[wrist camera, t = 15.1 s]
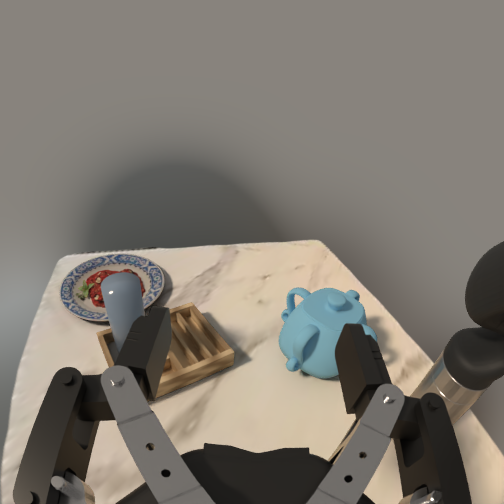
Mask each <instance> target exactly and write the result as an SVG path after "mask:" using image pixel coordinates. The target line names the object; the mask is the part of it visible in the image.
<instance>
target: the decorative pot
mask: <svg viewBox="0 0 504 504" xmlns="http://www.w3.org/2000/svg"><path fill="white" fill-rule="evenodd" d="M295 294H297V295H300V296H301V297H302V298H304V300H303V301H302V302H301V303H300V304H299V305H298V306H297V307H296V308H295V302H294V295H295ZM359 298H360V295H359V294H358V293H357V292H356V291H354V290H349V291H348V292H347V293H346V294H345V293H344V292H341V291H339V290H337V289H334V288H324V289H320V290H318V291H315V292H313V293H312V294H311V293H310V292H308V291H307V290H306V289H303V288H294V289H292V290H291V291H290V292H289V293H288V295H287V309H286V310H284V311H283V312H282V315H281V317H282V319H283V321H284V322H285V323H284V325H283V328H282V330H281V332H280V336H279V346H280V349H281V351H282V352H283V354H284V355H285V356H286V357H287V358H288V360H289V361H288V362H287V363H286V367H287V369H288V370H289V371H292V372H294V371H297V370H298V369H301V370H302V371H304V372H306V373H307V374H309V375H311V376H314V377H317V378H331V377H334V376H337V375H339V374H338V369H337V365H336V360H335V347H336V344H337V341H338V339H339V337H340V334H341V332H342V329H343V326H344V325H345V324H346V323H354V324H362V326H363V328H364V331H365V334H366V335H371V336H372V337H373V338H374V339H375V341H376V342H377V336H376V334H375V332H374V331H373V329H372V328H370V327H369V326H367V322H366V315H365V310H364V307H363V305H362V304H361V303H360V302H358V301H359Z"/></svg>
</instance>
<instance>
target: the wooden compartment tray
mask: <svg viewBox="0 0 504 504" xmlns="http://www.w3.org/2000/svg"><path fill="white" fill-rule="evenodd" d="M170 318H171V328H172V340H171V345H170V348H169V352H168V355H167V359H166V362H165V366H164V369H163V373H162V376H161V380H160V383H159V387H158V390H157V394H156V398H157V397H160V396H162V395H165V394H167V393H170V392H172V391H175V390H177V389H180V388H182V387H184V386H187V385H189V384H192V383H194V382H196V381H198V380H201V379H203V378H205V377H208V376H210V375H212V374H214V373H216V372H219V371H221V370H223V369H225V368H227V367H229V366H232V365H233V362H234V351H233V350H232V349H231V348H230V346H229V345H228V344H227V343H226V342H225V341H224V340H223V338H222V337H221V336H220V335H219V334H218V333H217V331H216V330H215V329H214V328H213V327H212V326H211V324H210V323H209V322H208V321H207V320H206V319H205V317H204V316H203V315H202V314H201V313H200V311H199V310H198V309H197V308H196V307H195V305H194V304H193V303H192V302H191V303H188V304H185V305H182V306H179V307H176V308H173V309H170ZM97 336H98V339H99V342H100V345H101V348H102V351H103V353H104V356H105V358H106V361H107V363H108V366H109V367H112V366H114V364H115V362H116V360H117V357H118V355H119V354H118V351H117V348H116V344H115V341H114V338H113V334H112V330H111V328H110V329H107V330H104V331H101V332H97ZM147 401H150V400H147Z"/></svg>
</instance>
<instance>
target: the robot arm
mask: <svg viewBox="0 0 504 504" xmlns="http://www.w3.org/2000/svg"><path fill="white" fill-rule="evenodd" d="M465 304H466V309H467V312H468V314H469V316H470V318H471V319H472V320H473V321H474V322H475V323H477V324H478V325H480V326H481V327H480V328H467V329H463V330H460V331H458V332H457V333H455V335H453V337H452V338H451V339H450V341H449V342H448V344H447V346H446V347H445V349H444V350H443V352H442V353H441V355H440V356H439V358H438V360H437V361H436V362H435V364H434V365H433V366H432V368H431V369H430V371H429V372H428V373H427V375H426V376H425V378H424V379H423V380H422V382H421V383H420V384H419V386H418V387H417V388H416V389H415V391H414V392H413V393H412V394H411V396H410V397H409V396H405V395H404V394H403V392H402V391H401V390H400V389H399V388H398V387H397V386H395V385H392V383H391V380H390V377H389V374H388V371H387V368H386V365H385V363H384V360H383V357H382V354H381V353H380V349H379V346H378V344H377V342H376V341H375V339H374V338H373V337H372V336H371V335H366V334H365V331H364V328H363V326H362V324H354V323H346V324H345V325H344V326H343V329H342V332H341V334H340V337H339V339H338V341H337V344H336V347H335V360H336V365H337V369H338V374H339V378H340V383H341V387H342V392H343V397H344V402H345V407H346V412H347V414H355V415H356V419H355V421H354V422H353V424H352V425H351V427H350V429H349V430H348V432H347V433H346V435H345V437H344V438H343V440H342V441H341V443H340V444H339V446H338V447H337V449H336V450H335V452H334V453H333V454H332V455H331V457H330V458H329V459H328V461H327V460H325V459H324V458H321V457H319V456H316V455H313V454H310V453H309V448H282V449H278V450H273V451H268V452H263V453H254V452H250V451H246V450H243V449H239V448H236V447H233V446H228V445H217V444H208V443H204V449H198V450H193V451H190V452H187V453H185V454H182V455H179V453H178V452H177V450H176V448H175V447H174V445H173V444H172V442H171V440H170V439H169V437H168V435H167V434H166V432H165V430H164V429H163V427H162V425H161V423H160V422H159V420H158V418H157V416H156V415H155V413H154V412H153V411H152V410H151V408H150V407H149V405H148V403H147V400H152V401H155V398H156V394H157V390H158V387H159V383H160V380H161V376H162V373H163V369H164V366H165V362H166V359H167V355H168V352H169V348H170V345H171V340H172V328H171V318H170V310H169V308H166V307H158V306H152V308H151V310H150V312H149V315H148V316H142V315H141V316H140V317H138V318H137V319H136V320H135V321H134V322H133V324H132V326H131V328H130V330H129V332H128V335H127V337H126V339H125V341H124V344H123V346H122V348H121V350H120V353H119V355H118V357H117V360H116V362H115V364H114V366H112V367H109V368H108V369H106V370H105V371H104V372H103V374H100V375H81V373H80V372H79V371H78V370H77V369H75V368H73V367H65V368H62V369H60V370H59V371H57V372H56V374H55V375H54V377H53V379H52V381H51V384H50V386H49V388H48V391H47V393H46V395H45V398H44V400H43V403H42V405H41V407H40V410H39V413H38V415H37V418H36V420H35V423H34V426H33V428H32V431H31V434H30V437H29V440H28V443H27V445H26V448H25V452H24V455H23V458H22V461H21V464H20V468H19V471H18V475H17V478H16V482H15V486H14V490H13V499H14V502H15V504H95V496H94V492H93V490H92V489H91V488H90V486H89V485H87V484H86V483H85V479H86V474H87V470H88V465H89V461H90V457H91V453H92V448H93V445H94V441H95V437H96V433H97V429H98V426H99V422H100V421H106V420H116V421H117V425H118V428H119V430H120V432H121V435H122V437H123V439H124V441H125V443H126V445H127V447H128V449H129V451H130V453H131V455H132V457H133V459H134V461H135V463H136V465H137V467H138V469H139V470H140V472H141V474H142V476H143V478H144V479H145V481H146V482H145V483H143V484H142V485H141V486H139V487H138V488H137V489H135V490H134V491H133V492H131V493H130V494H128V495H127V496H126V497H124V498H123V499H121V500H120V501H118V502H117V503H116V504H375V503H374V502H373V501H372V500H371V499H369V498H368V497H367V496H366V495H365V494H364V493H363V492H364V490H365V488H366V487H367V485H368V483H369V482H370V480H371V478H372V476H373V475H374V473H375V471H376V469H377V467H378V465H379V463H380V461H381V460H382V458H383V456H384V454H385V452H386V450H387V448H388V446H389V443H390V441H391V438H393V440H394V443H395V449H396V454H397V460H398V466H399V472H400V478H401V485H402V492H403V499H402V500H401V501H400V502H399V504H472V502H471V496H470V491H469V487H468V482H467V478H466V473H465V469H464V465H463V461H462V457H461V454H460V450H459V446H458V443H457V439H456V436H455V433H454V429H453V426H452V425H453V424H454V423H455V422H456V421H457V420H458V419H459V418H460V417H461V416H462V415H463V414H464V413H465V412H466V411H467V410H468V409H469V408H470V407H471V406H472V405H473V404H474V403H475V402H476V401H477V400H478V398H479V397H480V396H481V395H482V394H483V393H484V392H485V391H486V389H487V388H488V387H489V386H490V385H491V384H492V382H493V381H495V380H497V379H498V378H500V377H502V376H503V375H504V242H501V243H500V244H498V245H496V246H494V247H493V248H491V249H490V250H489V251H488V252H487V253H486V254H484V255H483V257H482V258H481V259H480V260H479V261H478V263H477V264H476V266H475V268H474V269H473V271H472V273H471V275H470V278H469V281H468V283H467V287H466V294H465Z"/></svg>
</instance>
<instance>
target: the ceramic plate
mask: <svg viewBox="0 0 504 504" xmlns="http://www.w3.org/2000/svg"><path fill="white" fill-rule="evenodd" d="M121 272H127V273H132V274H134V275H136V276H137V277H138V278H139V279H140V285H141V292H142V299H143V305H144V309H146V308H147V307H149V306H150V305H151V304H152V303H153V302H155V300H156V299H157V298H158V297H159V296H160V294H161V292H162V290H163V288H164V282H165V279H164V274H163V272H162V270H161V269H160V267H159V266H158V265H157V264H155V263H154V262H153V261H151V260H149V259H147V258H144V257H141V256H137V255H132V254H110V255H104V256H100V257H96V258H93V259H90V260H88V261H86V262H83V263H82V264H80V265H78V266H77V267H75V268H74V269H73V270H71V271H70V272H69V273H68V274H67V276H66V277H65V278H64V280H63V282H62V284H61V286H60V292H59V295H60V300H61V302H62V304H63V306H64V307H65V308H66V309H67V310H68V311H69V312H70V313H72V314H73V315H75V316H77V317H79V318H82V319H86V320H91V321H109V319H108V316H107V312H106V308H105V304H104V299H103V295H102V291H101V283H102V281H103V280H104V279H105V278H106V277H108V276H110V275H112V274H115V273H121Z"/></svg>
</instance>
